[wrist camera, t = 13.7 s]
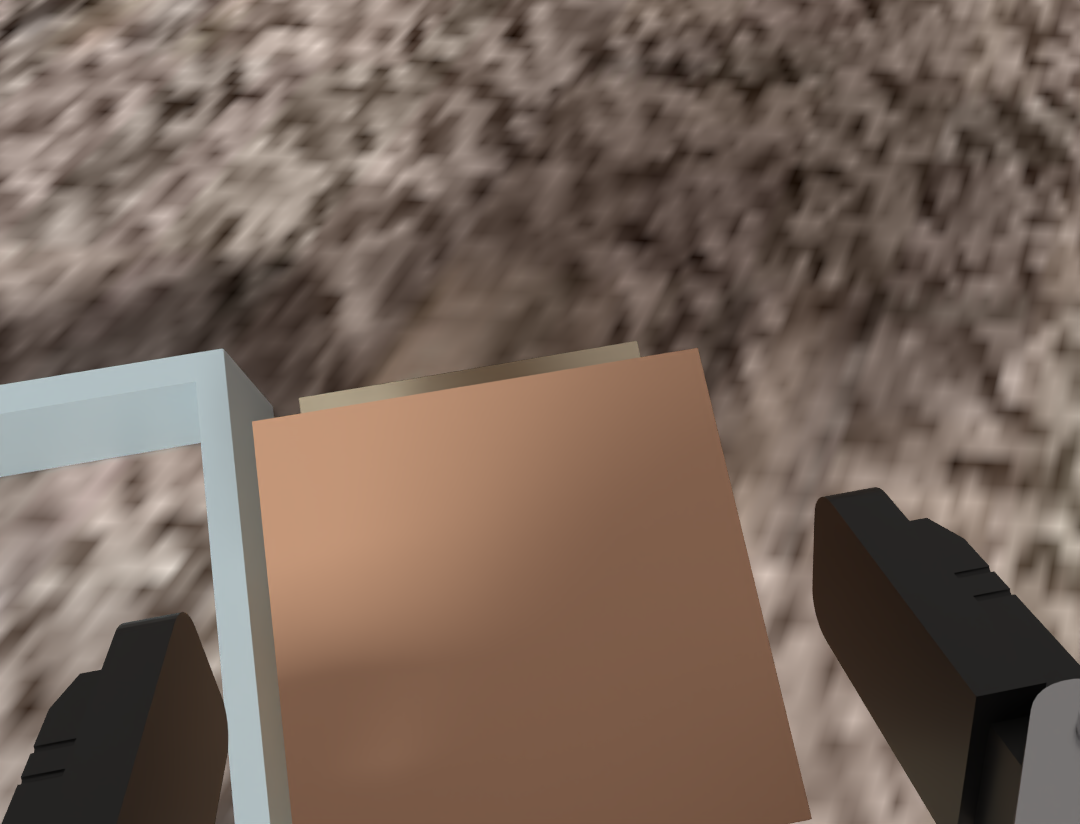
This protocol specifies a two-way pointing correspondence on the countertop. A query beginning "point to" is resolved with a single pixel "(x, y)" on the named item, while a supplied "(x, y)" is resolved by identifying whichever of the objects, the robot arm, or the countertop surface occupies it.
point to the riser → (471, 377)
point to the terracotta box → (521, 608)
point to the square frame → (232, 509)
